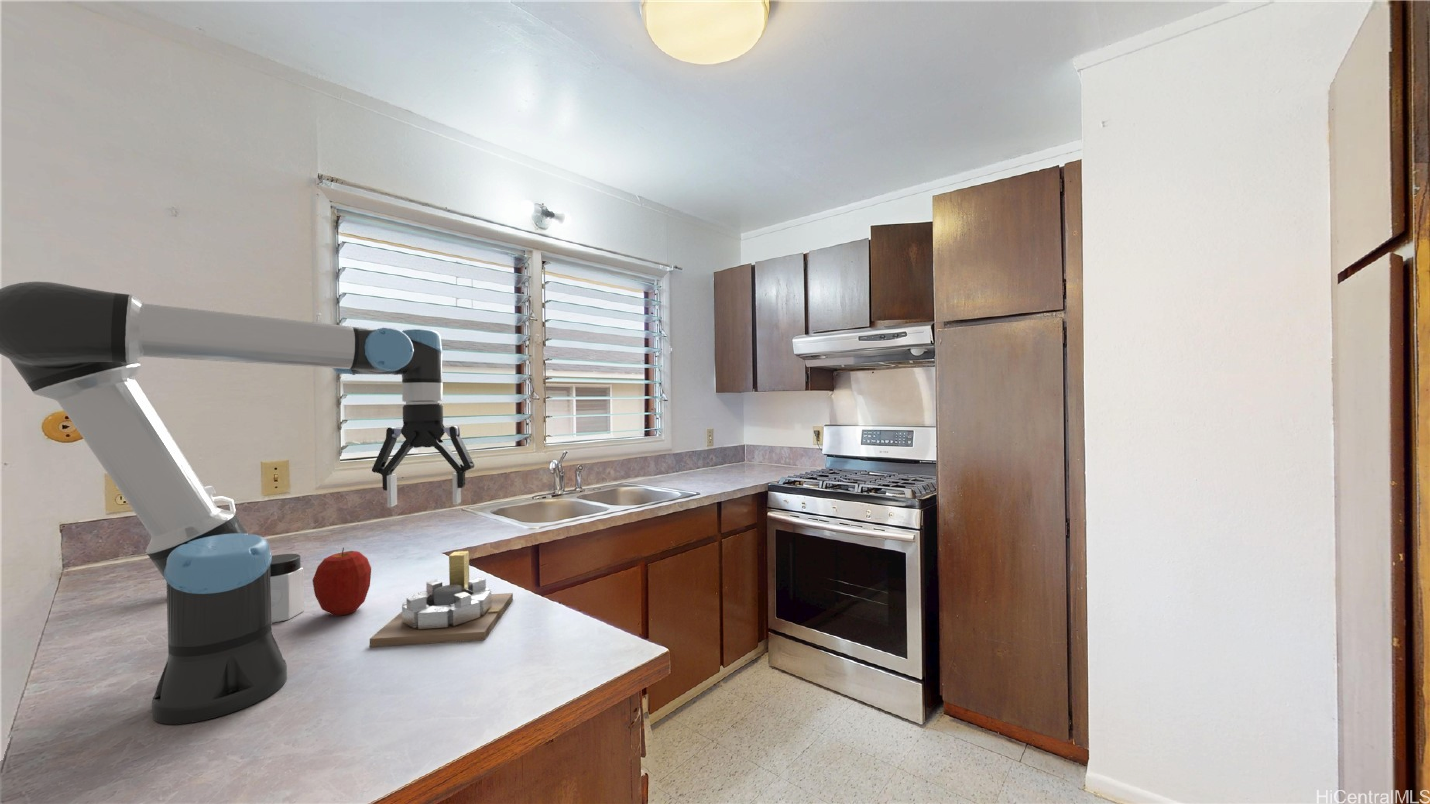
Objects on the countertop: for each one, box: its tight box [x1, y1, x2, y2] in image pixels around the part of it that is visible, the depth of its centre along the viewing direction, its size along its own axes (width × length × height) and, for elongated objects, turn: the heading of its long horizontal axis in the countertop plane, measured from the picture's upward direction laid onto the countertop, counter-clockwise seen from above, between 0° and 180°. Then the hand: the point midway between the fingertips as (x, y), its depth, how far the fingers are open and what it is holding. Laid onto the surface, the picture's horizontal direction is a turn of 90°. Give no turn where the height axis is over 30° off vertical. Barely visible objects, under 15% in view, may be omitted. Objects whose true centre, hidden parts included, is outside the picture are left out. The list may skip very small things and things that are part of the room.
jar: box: [270, 553, 305, 624], centre depth 112 cm, size 9×8×12 cm
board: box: [369, 584, 514, 648], centre depth 109 cm, size 20×20×6 cm
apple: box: [312, 547, 372, 617], centre depth 114 cm, size 10×10×14 cm
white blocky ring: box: [401, 550, 492, 629], centre depth 109 cm, size 16×15×10 cm
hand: (424, 504), depth 114 cm, fingers open, 12 cm apart
